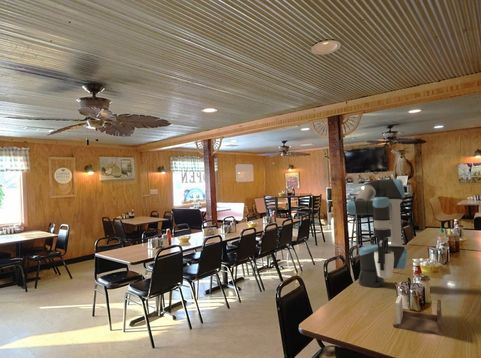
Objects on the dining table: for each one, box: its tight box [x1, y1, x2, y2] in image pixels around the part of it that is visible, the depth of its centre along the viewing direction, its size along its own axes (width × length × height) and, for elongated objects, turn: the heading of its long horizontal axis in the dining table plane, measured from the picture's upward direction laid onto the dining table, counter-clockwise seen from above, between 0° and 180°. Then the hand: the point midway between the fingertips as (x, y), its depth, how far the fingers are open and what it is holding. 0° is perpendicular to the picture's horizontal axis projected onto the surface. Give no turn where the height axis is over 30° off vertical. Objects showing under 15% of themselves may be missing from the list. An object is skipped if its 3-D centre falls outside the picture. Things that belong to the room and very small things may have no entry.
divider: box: [394, 295, 404, 324], centre depth 147 cm, size 2×11×9 cm, turn 147°
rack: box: [392, 299, 443, 336], centre depth 143 cm, size 18×13×10 cm
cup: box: [374, 250, 394, 279], centre depth 161 cm, size 9×9×12 cm
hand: (385, 274), depth 160 cm, fingers closed on cup, 9 cm apart
